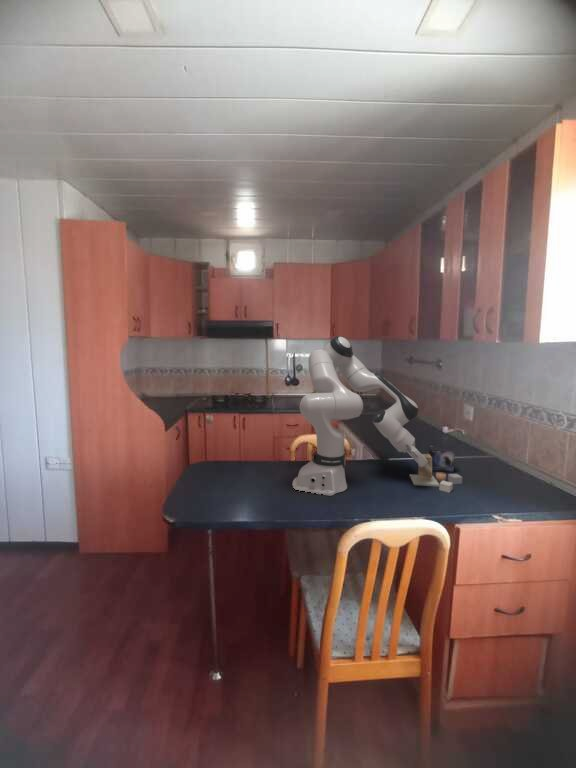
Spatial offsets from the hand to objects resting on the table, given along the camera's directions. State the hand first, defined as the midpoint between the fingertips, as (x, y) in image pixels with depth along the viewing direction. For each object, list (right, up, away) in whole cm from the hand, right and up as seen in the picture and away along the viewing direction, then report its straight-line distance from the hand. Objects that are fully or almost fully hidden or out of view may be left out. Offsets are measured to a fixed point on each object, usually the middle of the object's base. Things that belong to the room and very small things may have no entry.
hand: (426, 465), depth 156 cm
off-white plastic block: (+5, -8, -8) cm, 12 cm away
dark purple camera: (+12, -6, +14) cm, 20 cm away
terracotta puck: (+7, -7, +2) cm, 10 cm away
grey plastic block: (+12, -7, 0) cm, 14 cm away
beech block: (0, -5, +1) cm, 5 cm away
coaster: (-1, -7, +1) cm, 7 cm away
